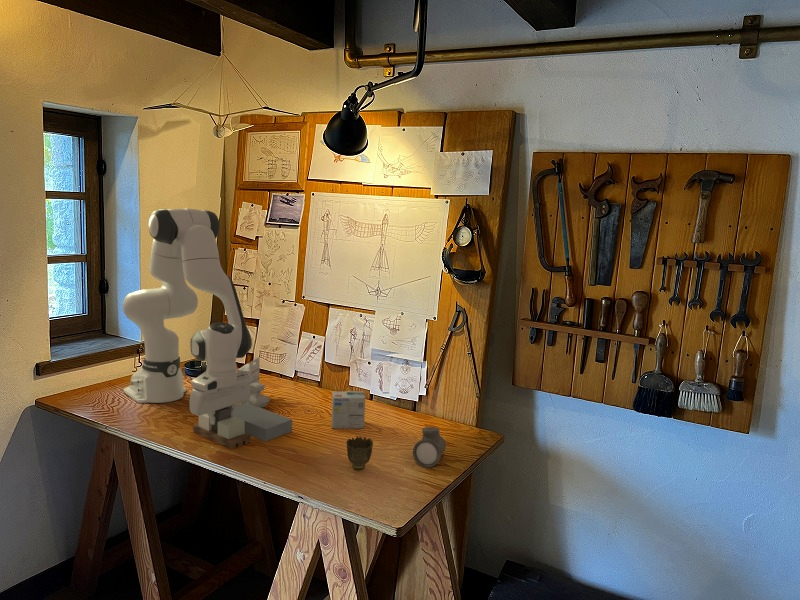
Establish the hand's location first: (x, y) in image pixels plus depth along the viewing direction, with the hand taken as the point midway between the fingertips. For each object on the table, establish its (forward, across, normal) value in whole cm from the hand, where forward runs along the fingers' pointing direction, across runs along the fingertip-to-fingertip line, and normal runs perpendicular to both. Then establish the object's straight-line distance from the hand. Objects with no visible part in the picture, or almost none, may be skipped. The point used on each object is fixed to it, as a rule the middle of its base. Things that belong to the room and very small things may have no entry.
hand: (221, 421), depth 189 cm
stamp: (+5, -24, -12) cm, 28 cm away
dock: (+5, -12, +1) cm, 14 cm away
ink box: (+5, -28, -21) cm, 36 cm away
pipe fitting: (+6, -32, +56) cm, 64 cm away
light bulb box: (+5, -34, +21) cm, 41 cm away
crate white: (+3, 0, -4) cm, 5 cm away
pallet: (+5, 0, 0) cm, 5 cm away
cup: (+5, -12, +44) cm, 46 cm away
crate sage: (+3, 0, +4) cm, 5 cm away
